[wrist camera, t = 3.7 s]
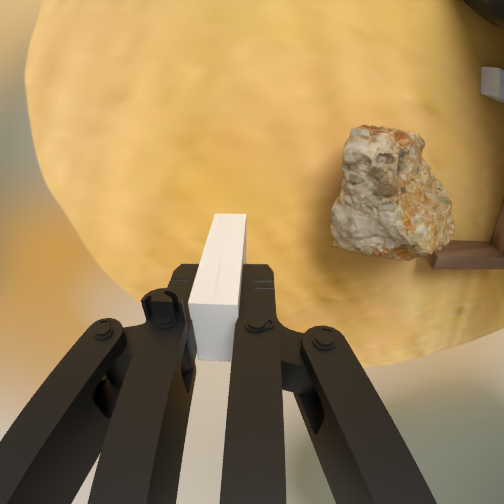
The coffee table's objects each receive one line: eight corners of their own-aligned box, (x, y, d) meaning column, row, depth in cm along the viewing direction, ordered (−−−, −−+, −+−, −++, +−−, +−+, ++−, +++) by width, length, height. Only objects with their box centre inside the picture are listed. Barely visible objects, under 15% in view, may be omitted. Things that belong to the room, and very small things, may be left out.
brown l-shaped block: (447, 111, 20) (468, 117, 17) (523, 139, 20) (543, 147, 17) (419, 251, 28) (433, 269, 25) (493, 253, 28) (508, 268, 25)
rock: (309, 221, 27) (329, 288, 19) (327, 110, 22) (367, 125, 13) (418, 235, 27) (465, 295, 19) (444, 140, 22) (513, 173, 13)
